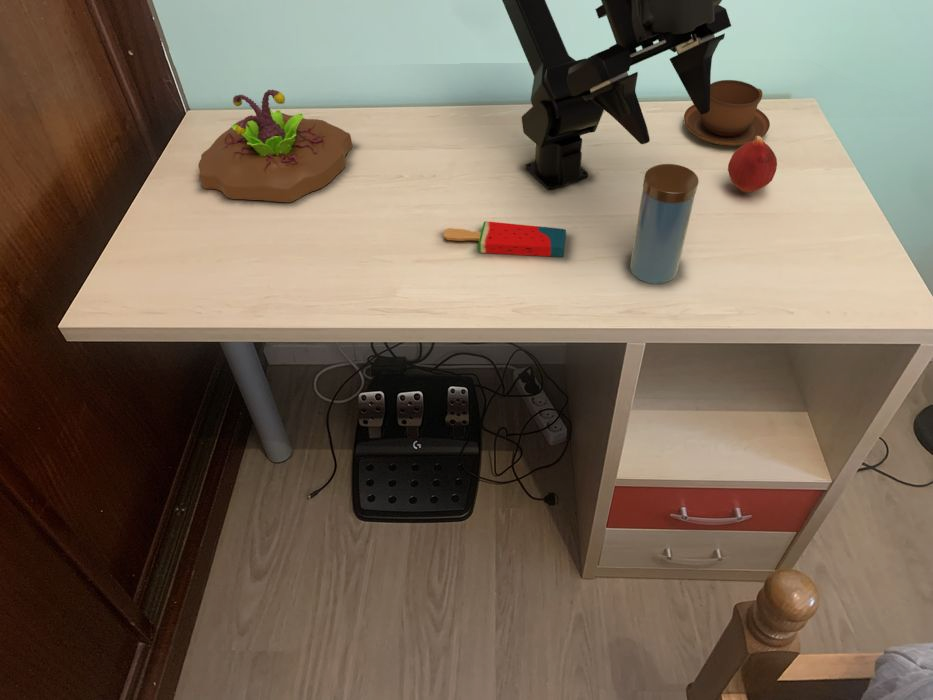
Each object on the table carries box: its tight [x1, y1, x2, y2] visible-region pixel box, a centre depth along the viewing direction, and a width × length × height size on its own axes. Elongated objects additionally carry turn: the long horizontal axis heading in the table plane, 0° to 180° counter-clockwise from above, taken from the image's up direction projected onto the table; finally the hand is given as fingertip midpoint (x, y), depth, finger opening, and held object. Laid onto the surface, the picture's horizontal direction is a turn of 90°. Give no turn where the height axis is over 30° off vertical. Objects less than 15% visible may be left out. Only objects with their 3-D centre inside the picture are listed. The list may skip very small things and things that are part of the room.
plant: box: [197, 89, 353, 203], centre depth 101 cm, size 20×20×11 cm
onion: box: [727, 136, 778, 194], centre depth 94 cm, size 6×6×8 cm
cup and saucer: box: [683, 79, 771, 147], centre depth 105 cm, size 12×12×6 cm
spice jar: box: [629, 163, 699, 285], centre depth 82 cm, size 6×6×12 cm
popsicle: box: [442, 220, 567, 258], centre depth 91 cm, size 4×2×15 cm
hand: (676, 128), depth 79 cm, fingers open, 9 cm apart
